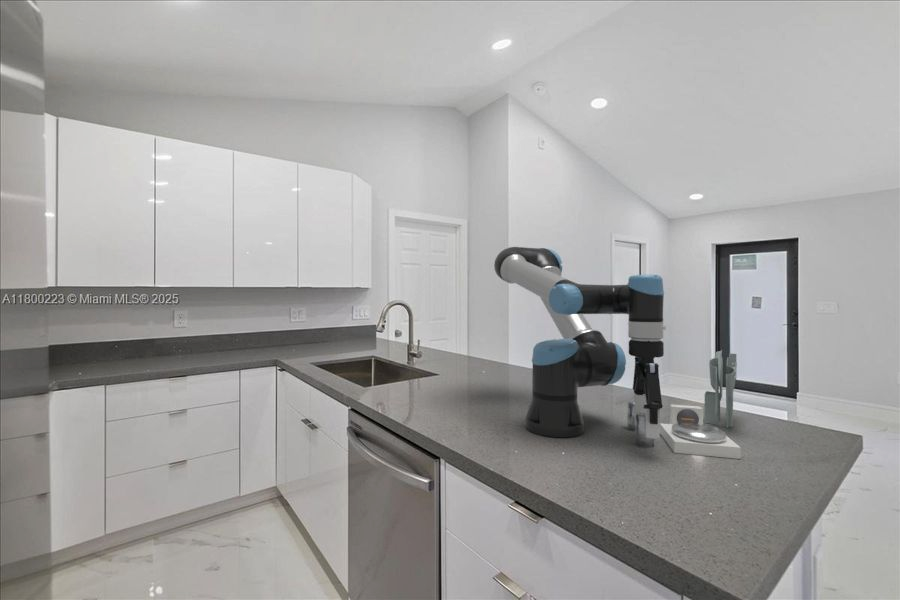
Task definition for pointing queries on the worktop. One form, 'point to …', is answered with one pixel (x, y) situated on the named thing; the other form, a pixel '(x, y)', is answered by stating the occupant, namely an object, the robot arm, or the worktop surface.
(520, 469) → the worktop surface
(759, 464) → the worktop surface
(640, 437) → the grey metal knob
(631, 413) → the cylinder
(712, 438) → the pan
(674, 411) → the scale
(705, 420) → the bracket
